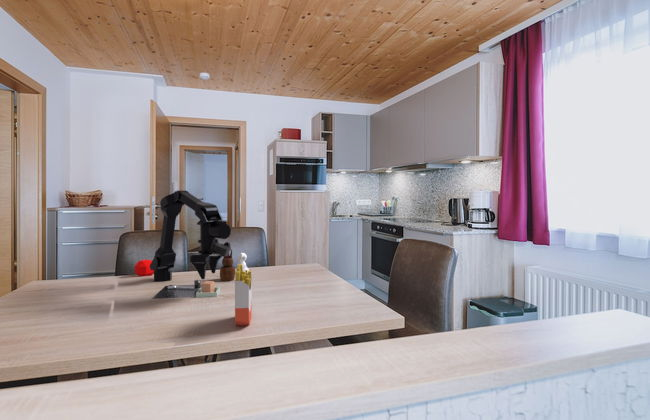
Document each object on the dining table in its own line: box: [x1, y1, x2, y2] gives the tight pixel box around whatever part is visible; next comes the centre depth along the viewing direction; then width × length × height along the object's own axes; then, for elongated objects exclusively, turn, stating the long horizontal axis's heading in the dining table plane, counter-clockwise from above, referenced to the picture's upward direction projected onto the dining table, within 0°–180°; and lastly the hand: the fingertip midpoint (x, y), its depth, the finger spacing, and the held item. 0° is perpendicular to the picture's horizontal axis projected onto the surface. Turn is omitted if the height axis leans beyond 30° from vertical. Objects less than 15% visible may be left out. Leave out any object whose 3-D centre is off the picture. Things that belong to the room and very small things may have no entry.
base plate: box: [151, 284, 202, 300], centre depth 139 cm, size 16×18×1 cm
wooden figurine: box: [219, 248, 236, 282], centre depth 156 cm, size 7×6×15 cm
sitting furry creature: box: [235, 252, 250, 273], centre depth 166 cm, size 10×9×12 cm
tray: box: [195, 286, 221, 298], centre depth 135 cm, size 8×8×2 cm
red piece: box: [134, 258, 154, 278], centre depth 165 cm, size 8×8×8 cm
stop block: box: [201, 280, 215, 293], centre depth 135 cm, size 4×4×5 cm
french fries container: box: [234, 263, 253, 326], centre depth 109 cm, size 5×11×18 cm, turn 7°
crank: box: [167, 279, 202, 290], centre depth 141 cm, size 14×4×4 cm, turn 83°
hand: (208, 276), depth 135 cm, fingers open, 9 cm apart
